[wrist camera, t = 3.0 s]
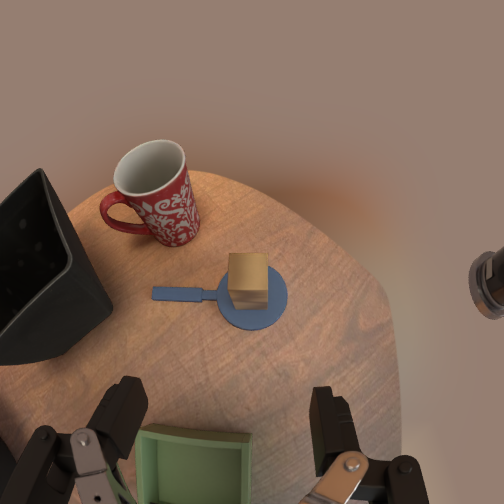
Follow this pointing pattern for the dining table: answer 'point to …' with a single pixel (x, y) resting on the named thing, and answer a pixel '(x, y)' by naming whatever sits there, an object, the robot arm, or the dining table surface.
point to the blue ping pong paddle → (226, 306)
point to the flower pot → (43, 277)
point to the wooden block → (248, 280)
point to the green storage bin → (192, 466)
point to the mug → (155, 193)
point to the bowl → (5, 466)
